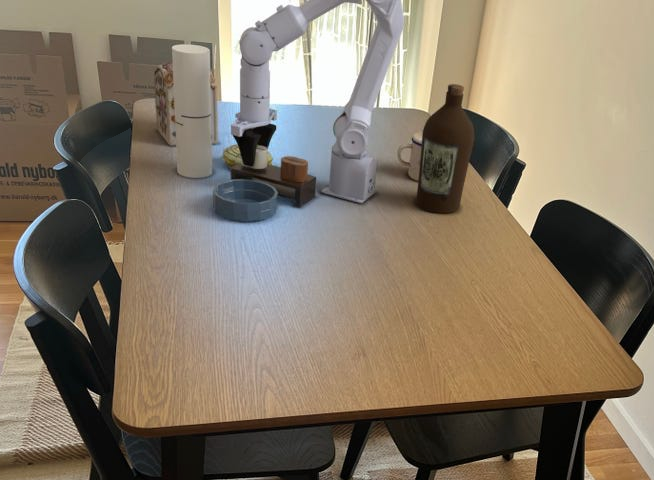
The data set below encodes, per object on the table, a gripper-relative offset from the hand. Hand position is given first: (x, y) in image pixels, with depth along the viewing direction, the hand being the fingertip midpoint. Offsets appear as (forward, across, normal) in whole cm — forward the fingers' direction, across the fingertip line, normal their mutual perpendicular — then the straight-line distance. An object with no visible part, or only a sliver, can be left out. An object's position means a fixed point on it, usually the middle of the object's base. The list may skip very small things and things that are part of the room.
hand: (254, 162), depth 155 cm
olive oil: (+6, -16, +36) cm, 39 cm away
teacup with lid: (+6, -30, +27) cm, 41 cm away
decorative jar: (+6, -17, -28) cm, 33 cm away
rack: (+6, 0, +5) cm, 7 cm away
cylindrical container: (+6, 0, -14) cm, 15 cm away
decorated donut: (+6, -10, -7) cm, 14 cm away
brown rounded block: (+1, 0, +9) cm, 9 cm away
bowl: (+6, +11, +5) cm, 13 cm away
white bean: (0, 0, 0) cm, 0 cm away
